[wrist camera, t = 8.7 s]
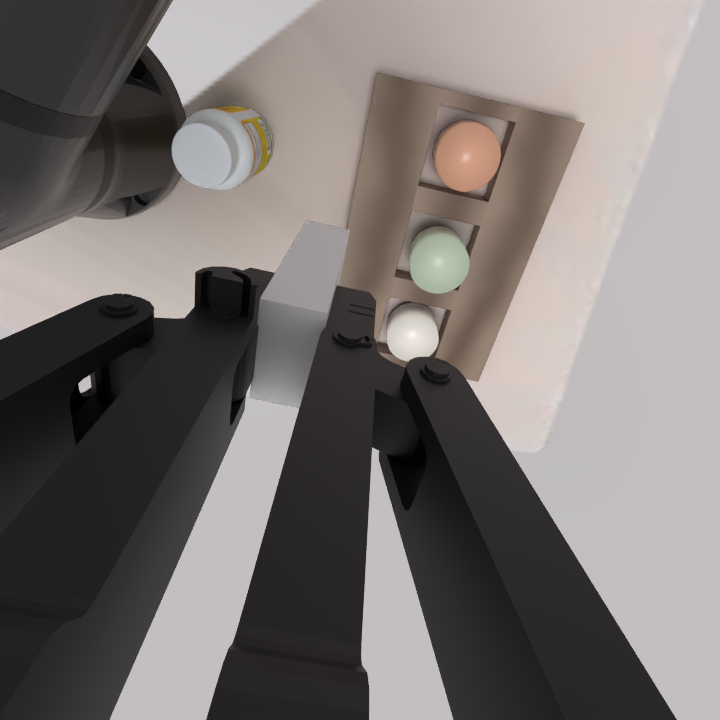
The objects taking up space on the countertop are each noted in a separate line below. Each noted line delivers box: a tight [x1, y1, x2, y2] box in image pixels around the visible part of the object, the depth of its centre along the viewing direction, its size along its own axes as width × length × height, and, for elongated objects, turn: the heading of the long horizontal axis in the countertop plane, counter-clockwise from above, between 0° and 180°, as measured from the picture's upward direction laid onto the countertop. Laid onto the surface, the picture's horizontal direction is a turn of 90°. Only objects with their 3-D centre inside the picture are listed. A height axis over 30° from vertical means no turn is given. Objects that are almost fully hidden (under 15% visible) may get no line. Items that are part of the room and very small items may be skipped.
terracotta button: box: [433, 120, 501, 192], centre depth 36 cm, size 5×5×3 cm
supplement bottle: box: [172, 106, 273, 190], centre depth 35 cm, size 5×5×10 cm
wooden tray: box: [339, 73, 585, 381], centre depth 41 cm, size 16×24×2 cm, turn 168°
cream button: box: [387, 303, 439, 362], centre depth 45 cm, size 5×5×3 cm
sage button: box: [409, 226, 470, 294], centre depth 39 cm, size 5×5×3 cm
